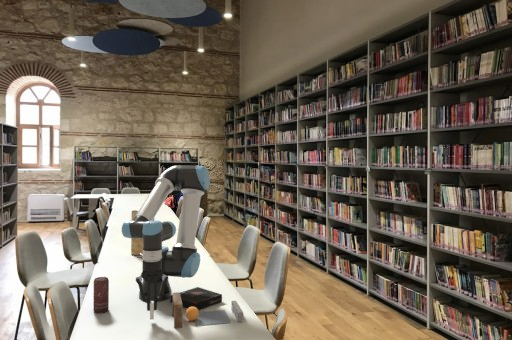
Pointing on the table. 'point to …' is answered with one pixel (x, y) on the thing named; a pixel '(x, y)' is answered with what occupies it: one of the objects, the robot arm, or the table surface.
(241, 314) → the stopper
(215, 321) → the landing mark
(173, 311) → the bridge
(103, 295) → the can
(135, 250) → the parchment
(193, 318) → the ball
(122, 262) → the table surface
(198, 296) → the portable cd player
